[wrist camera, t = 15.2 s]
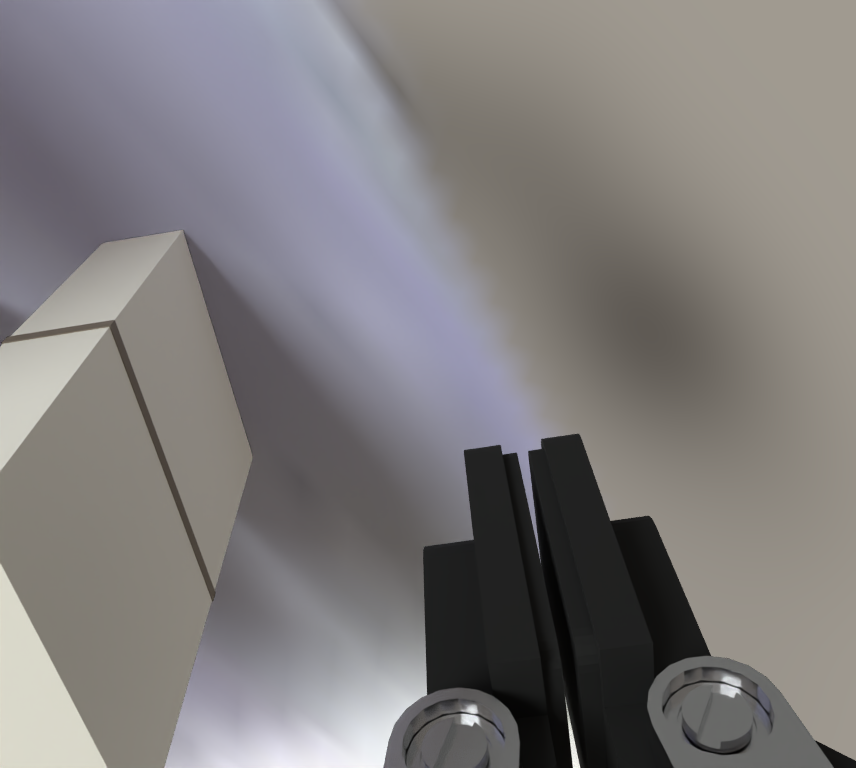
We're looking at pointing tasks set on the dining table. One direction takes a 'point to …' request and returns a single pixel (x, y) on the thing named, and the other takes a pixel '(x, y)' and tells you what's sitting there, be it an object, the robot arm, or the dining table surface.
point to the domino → (111, 507)
